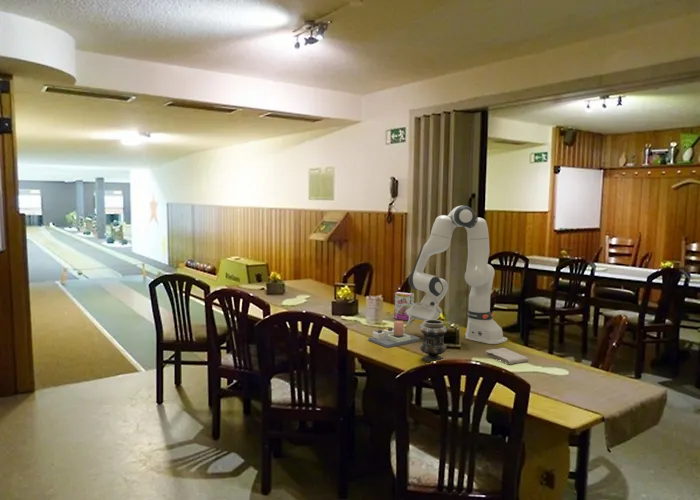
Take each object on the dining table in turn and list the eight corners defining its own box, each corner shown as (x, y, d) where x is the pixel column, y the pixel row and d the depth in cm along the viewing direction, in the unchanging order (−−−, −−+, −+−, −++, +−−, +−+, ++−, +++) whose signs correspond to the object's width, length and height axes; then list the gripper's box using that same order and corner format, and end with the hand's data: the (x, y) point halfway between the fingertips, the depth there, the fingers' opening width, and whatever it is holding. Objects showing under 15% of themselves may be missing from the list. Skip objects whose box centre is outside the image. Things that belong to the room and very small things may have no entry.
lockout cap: (405, 339, 259) (405, 322, 258) (398, 340, 256) (398, 323, 255) (399, 337, 263) (399, 320, 262) (391, 338, 260) (391, 321, 259)
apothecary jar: (451, 361, 229) (452, 322, 227) (429, 365, 224) (430, 325, 222) (436, 354, 240) (436, 317, 238) (414, 357, 235) (415, 319, 233)
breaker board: (420, 340, 262) (420, 329, 261) (387, 347, 250) (387, 336, 249) (400, 333, 275) (400, 323, 275) (368, 340, 263) (368, 329, 262)
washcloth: (502, 351, 244) (502, 345, 244) (529, 362, 228) (529, 356, 228) (482, 355, 239) (483, 348, 239) (509, 366, 223) (509, 359, 223)
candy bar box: (394, 319, 309) (394, 293, 307) (397, 317, 313) (397, 291, 311) (410, 321, 303) (410, 294, 301) (414, 319, 307) (414, 293, 305)
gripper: (412, 298, 276) (398, 318, 272) (438, 304, 259) (424, 326, 255) (418, 305, 279) (404, 325, 275) (444, 312, 262) (431, 333, 258)
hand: (414, 325), depth 265 cm, fingers open, 8 cm apart
